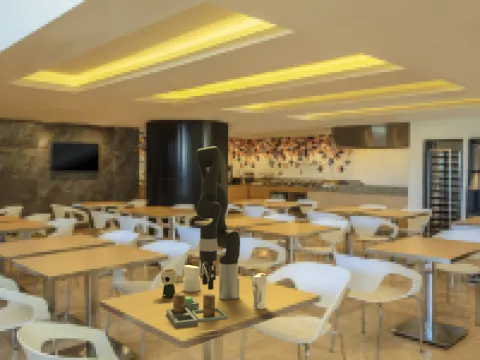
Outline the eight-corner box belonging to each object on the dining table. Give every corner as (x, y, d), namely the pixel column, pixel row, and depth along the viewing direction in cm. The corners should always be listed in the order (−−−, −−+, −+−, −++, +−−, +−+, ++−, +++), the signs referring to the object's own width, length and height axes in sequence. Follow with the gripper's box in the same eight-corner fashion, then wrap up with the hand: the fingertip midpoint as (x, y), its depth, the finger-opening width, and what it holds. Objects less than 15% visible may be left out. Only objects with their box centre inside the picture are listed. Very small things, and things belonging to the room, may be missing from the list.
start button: (191, 307, 207) (191, 296, 207) (193, 310, 203) (193, 299, 203) (181, 308, 206) (181, 297, 205) (184, 311, 201) (184, 300, 201)
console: (193, 307, 209) (193, 298, 209) (198, 312, 202) (198, 303, 202) (176, 308, 207) (176, 300, 206) (181, 314, 199) (181, 305, 199)
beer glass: (251, 305, 212) (251, 273, 212) (266, 305, 213) (266, 273, 213) (252, 309, 205) (253, 276, 205) (268, 309, 206) (268, 276, 206)
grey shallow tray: (166, 316, 196) (166, 309, 196) (186, 313, 200) (186, 307, 199) (176, 330, 180) (176, 322, 179) (198, 327, 183) (198, 319, 183)
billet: (212, 314, 198) (212, 293, 197) (216, 317, 193) (216, 296, 193) (201, 315, 196) (201, 294, 195) (205, 319, 191) (205, 297, 191)
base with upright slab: (203, 289, 240) (203, 266, 240) (191, 292, 234) (191, 269, 233) (192, 286, 246) (192, 264, 246) (179, 289, 239) (179, 266, 239)
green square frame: (218, 312, 202) (218, 307, 202) (227, 320, 191) (227, 315, 191) (191, 315, 198) (191, 310, 198) (199, 324, 187) (199, 319, 186)
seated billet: (183, 313, 197) (183, 292, 197) (186, 317, 192) (186, 295, 192) (172, 314, 195) (172, 293, 195) (174, 318, 190) (174, 296, 190)
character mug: (156, 296, 227) (156, 270, 226) (166, 293, 233) (166, 267, 232) (171, 299, 220) (171, 273, 220) (182, 296, 226) (182, 270, 226)
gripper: (195, 246, 199) (194, 283, 199) (204, 252, 186) (203, 291, 186) (212, 245, 202) (211, 282, 202) (221, 251, 188) (221, 290, 189)
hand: (207, 286), depth 194 cm, fingers open, 8 cm apart
